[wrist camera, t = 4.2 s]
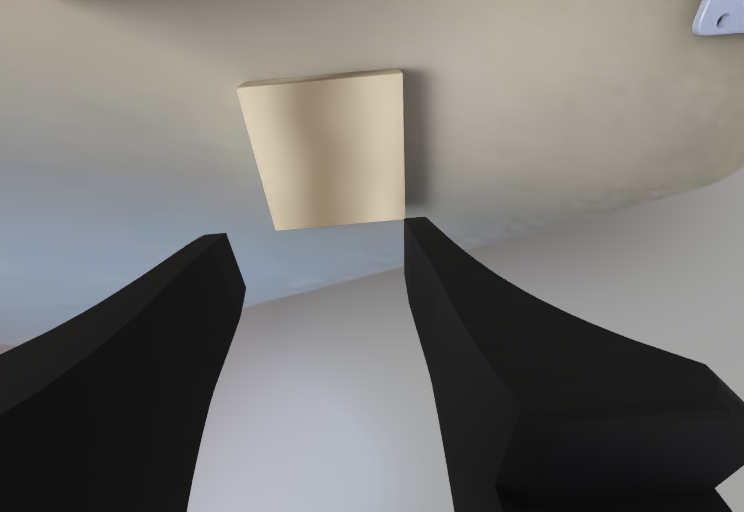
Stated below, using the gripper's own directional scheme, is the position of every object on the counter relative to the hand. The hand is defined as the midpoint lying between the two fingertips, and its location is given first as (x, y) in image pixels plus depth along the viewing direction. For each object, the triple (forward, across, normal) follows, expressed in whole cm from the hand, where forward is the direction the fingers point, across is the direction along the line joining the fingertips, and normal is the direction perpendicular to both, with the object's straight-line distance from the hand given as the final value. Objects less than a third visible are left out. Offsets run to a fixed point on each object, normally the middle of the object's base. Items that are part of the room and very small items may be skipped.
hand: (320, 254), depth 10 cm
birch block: (+10, 0, 0) cm, 10 cm away
